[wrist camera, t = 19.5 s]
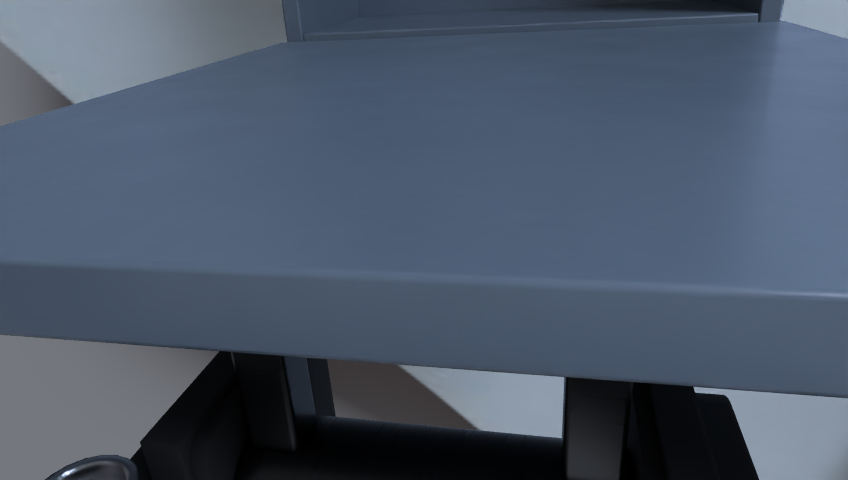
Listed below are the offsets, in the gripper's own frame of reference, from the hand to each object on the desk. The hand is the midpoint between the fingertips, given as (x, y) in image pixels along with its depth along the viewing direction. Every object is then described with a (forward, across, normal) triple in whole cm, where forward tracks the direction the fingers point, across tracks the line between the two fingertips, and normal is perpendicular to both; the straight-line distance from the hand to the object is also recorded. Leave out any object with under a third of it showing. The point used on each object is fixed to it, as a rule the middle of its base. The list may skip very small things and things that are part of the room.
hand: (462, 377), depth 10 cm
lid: (+3, 0, -5) cm, 6 cm away
